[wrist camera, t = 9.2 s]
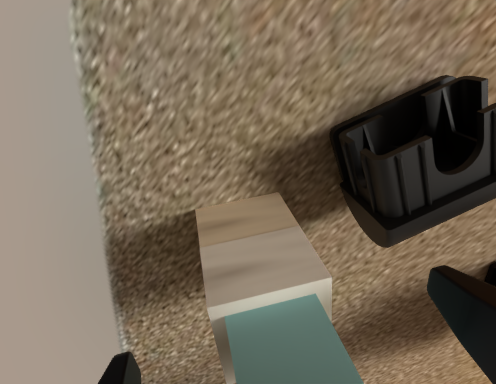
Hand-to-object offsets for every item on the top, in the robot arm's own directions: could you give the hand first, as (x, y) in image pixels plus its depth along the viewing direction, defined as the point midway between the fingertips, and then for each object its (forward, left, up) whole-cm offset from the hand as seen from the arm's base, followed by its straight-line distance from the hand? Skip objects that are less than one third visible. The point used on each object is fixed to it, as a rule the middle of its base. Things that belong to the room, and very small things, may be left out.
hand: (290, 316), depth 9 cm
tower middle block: (-7, 0, -9) cm, 11 cm away
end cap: (-2, -12, -14) cm, 19 cm away
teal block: (-7, 0, -4) cm, 8 cm away
